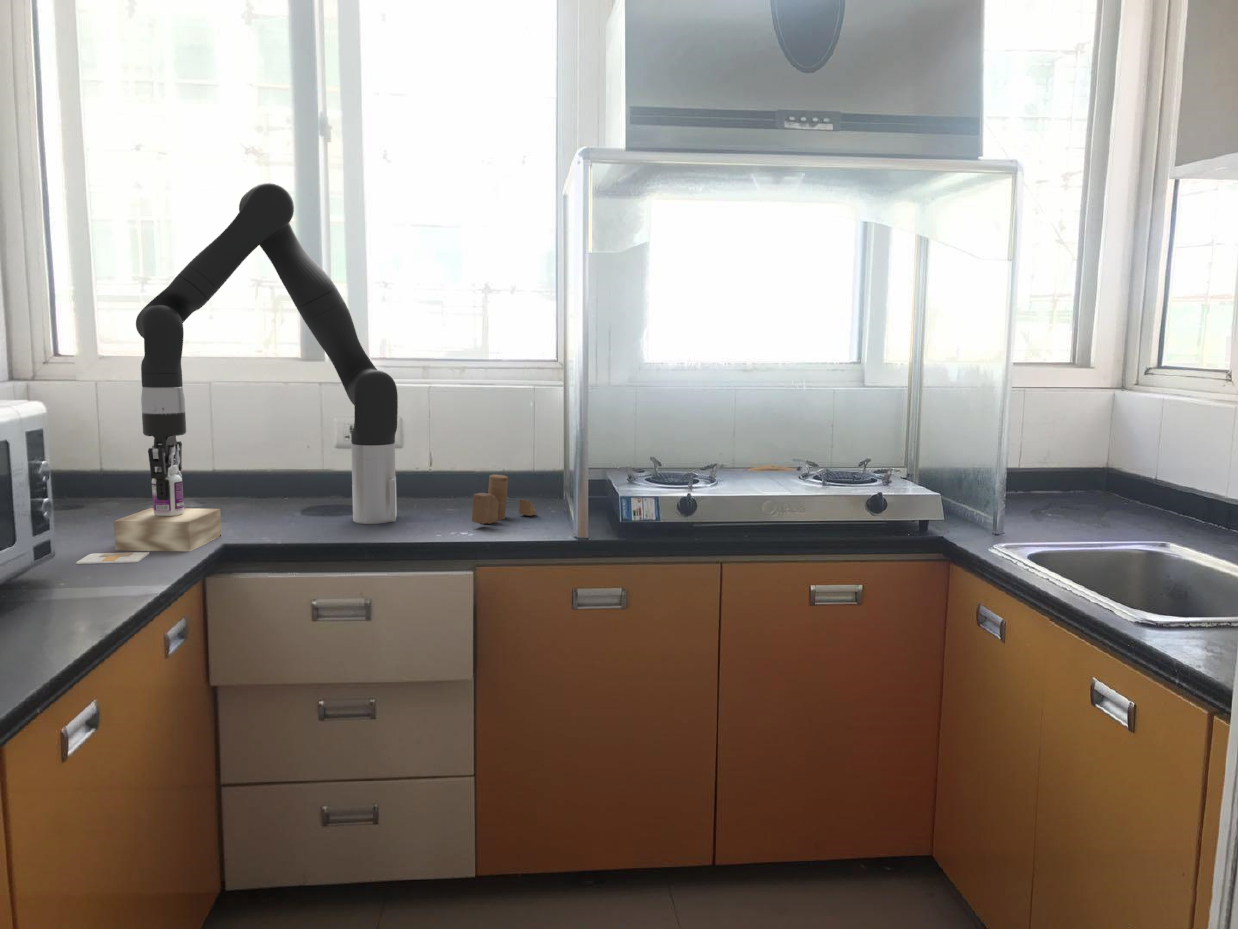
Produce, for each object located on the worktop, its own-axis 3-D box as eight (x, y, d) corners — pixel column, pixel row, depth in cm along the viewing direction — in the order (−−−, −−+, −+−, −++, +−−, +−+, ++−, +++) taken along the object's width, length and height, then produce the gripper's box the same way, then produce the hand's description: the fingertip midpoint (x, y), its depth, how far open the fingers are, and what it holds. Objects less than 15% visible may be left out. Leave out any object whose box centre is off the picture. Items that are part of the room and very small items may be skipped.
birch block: (221, 537, 187) (220, 508, 186) (190, 553, 173) (188, 521, 173) (152, 536, 187) (150, 507, 186) (115, 552, 173) (113, 520, 172)
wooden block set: (488, 533, 194) (492, 485, 193) (456, 525, 198) (459, 479, 197) (536, 521, 210) (540, 477, 209) (505, 515, 214) (509, 471, 213)
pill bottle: (176, 511, 183) (173, 463, 182) (189, 514, 180) (186, 465, 179) (148, 514, 179) (145, 465, 178) (160, 518, 176) (158, 468, 174)
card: (149, 553, 171) (149, 551, 171) (137, 562, 164) (137, 560, 164) (90, 555, 169) (90, 553, 169) (76, 564, 162) (76, 561, 162)
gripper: (174, 413, 171) (178, 503, 173) (194, 407, 185) (198, 491, 187) (130, 413, 169) (135, 503, 171) (153, 408, 183) (158, 491, 185)
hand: (168, 496), depth 179 cm, fingers closed on pill bottle, 5 cm apart
